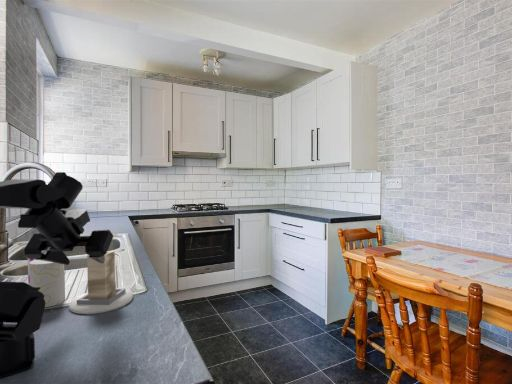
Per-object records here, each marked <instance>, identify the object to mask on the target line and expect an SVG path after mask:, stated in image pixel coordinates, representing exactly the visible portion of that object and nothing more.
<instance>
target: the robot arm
mask: <svg viewBox="0 0 512 384" xmlns="http://www.w3.org/2000/svg"><path fill="white" fill-rule="evenodd" d="M82 190H83V183H81V181H80V180H77V179H76V178H74V177H72V176H70V175H67V173H66V172H64V171H62V172H61V171H58V172H57V171H56V172H55V174H54V175H53V177H52V178H51V180H50V181H48V183H46V181H45V180H43V179H7V180H3V181H0V209H27V210H26V211H25V213H24V214H22V213H21V214H20V215H19V220H18V221H17V227H18V228H20V229H35V230H36V231H37V232H36V233H33V235H32V236H31V238H30V239H29V241H28V243H26V246H24V248H23V255H24V256H26V257H27V259H28V258H29V259H36V260H43V261H49V262H54V263H59V264H64V266H69V264H70V259H69V257H68V256H67V255H66V254H65V252H72V251H73V249H74V248H75V247H84V249H85V250H84V251H85V253H86V255H89V258H91V259H93V260H95V261H97V262H99V263H104V261H105V256H104V255H105V254H106V253H107V251H109V248H110V245H111V244H112V240H113V239H114V235H113V232H111V230H110V229H97V230H92V231H91V234H90V235H84V236H83V235H81V234H84V232H85V228H84V226H85V225H87V224H88V223H89V222H91V218H90V215H89V213H88V210H87V209H86V208H76V209H69V208H70V207H71V206H72V205H73V203H74V202H75V201H76V199H77V198H78V196H79V195H80V193H81V192H82ZM65 209H67V210H65ZM39 289H40V287H32V286H30V285H29V284H28V283H27V282H24V281H0V379H1V377H2V378H4V377H7V376H10V375H13V374H17V373H20V372H23V371H26V370H29V369H32V368H33V360H35V358H36V347H35V345H36V344H35V334H34V333H35V332H37V331H38V330H40V328H41V324H42V320H43V316H44V313H45V308H46V307H45V300H44V294H43V293H42V292H40V291H38V290H39ZM8 323H9V324H8ZM10 323H11V324H10ZM14 323H15V324H14Z"/></svg>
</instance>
